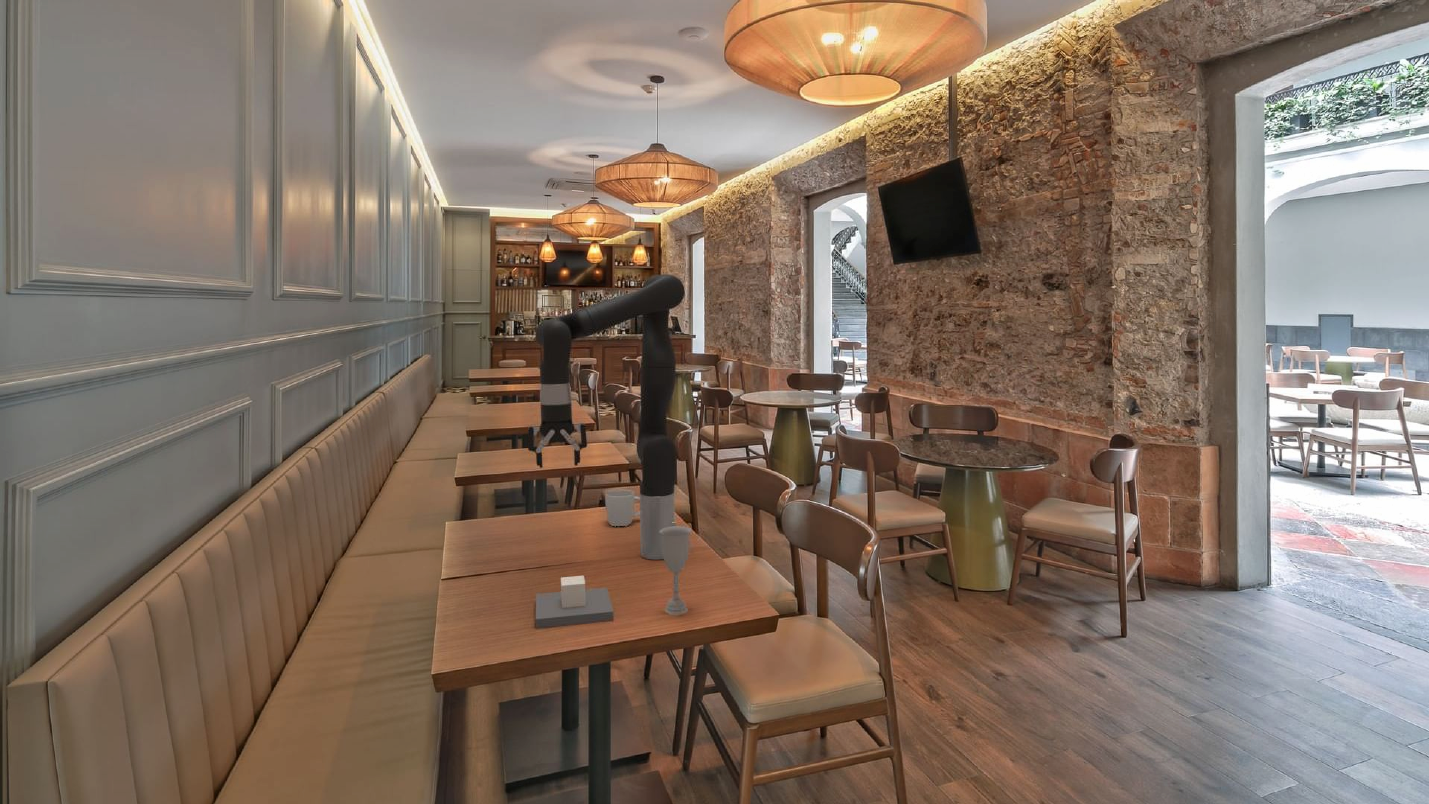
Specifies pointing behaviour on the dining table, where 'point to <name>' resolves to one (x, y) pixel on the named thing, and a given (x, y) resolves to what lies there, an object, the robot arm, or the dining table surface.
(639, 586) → the dining table surface
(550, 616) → the slate board
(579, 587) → the cube
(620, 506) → the mug
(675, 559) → the chalice
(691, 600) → the dining table surface
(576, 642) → the dining table surface
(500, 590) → the dining table surface
